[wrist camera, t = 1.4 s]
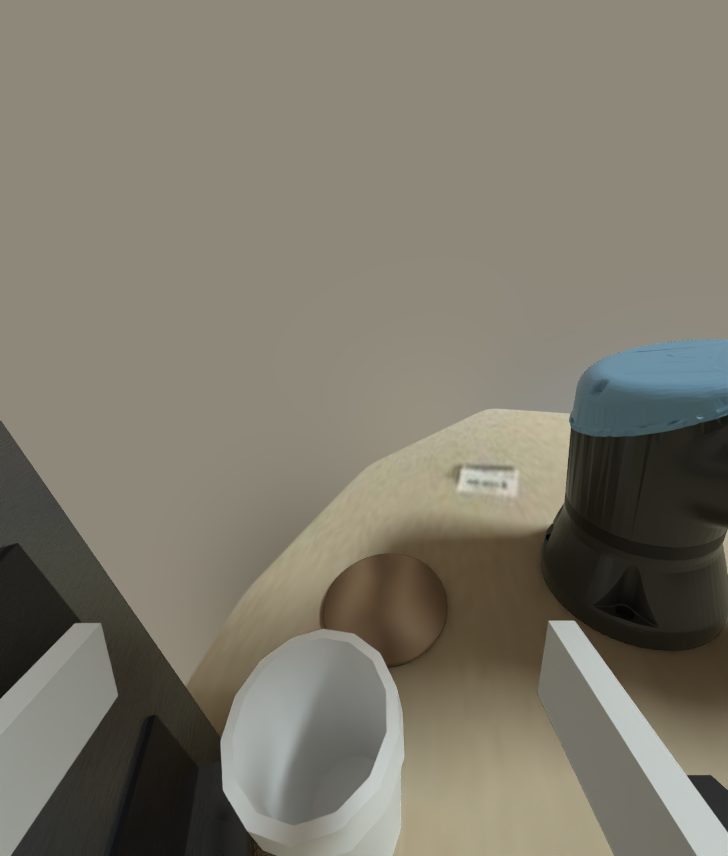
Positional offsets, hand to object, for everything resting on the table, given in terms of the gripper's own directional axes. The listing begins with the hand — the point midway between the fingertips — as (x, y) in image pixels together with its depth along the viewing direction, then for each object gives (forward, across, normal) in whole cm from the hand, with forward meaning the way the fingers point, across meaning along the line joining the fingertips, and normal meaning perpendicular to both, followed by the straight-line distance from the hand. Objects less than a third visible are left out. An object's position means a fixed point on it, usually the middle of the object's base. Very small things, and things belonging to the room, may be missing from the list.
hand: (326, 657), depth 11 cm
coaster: (+24, +3, -19) cm, 31 cm away
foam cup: (+9, 0, -23) cm, 24 cm away
